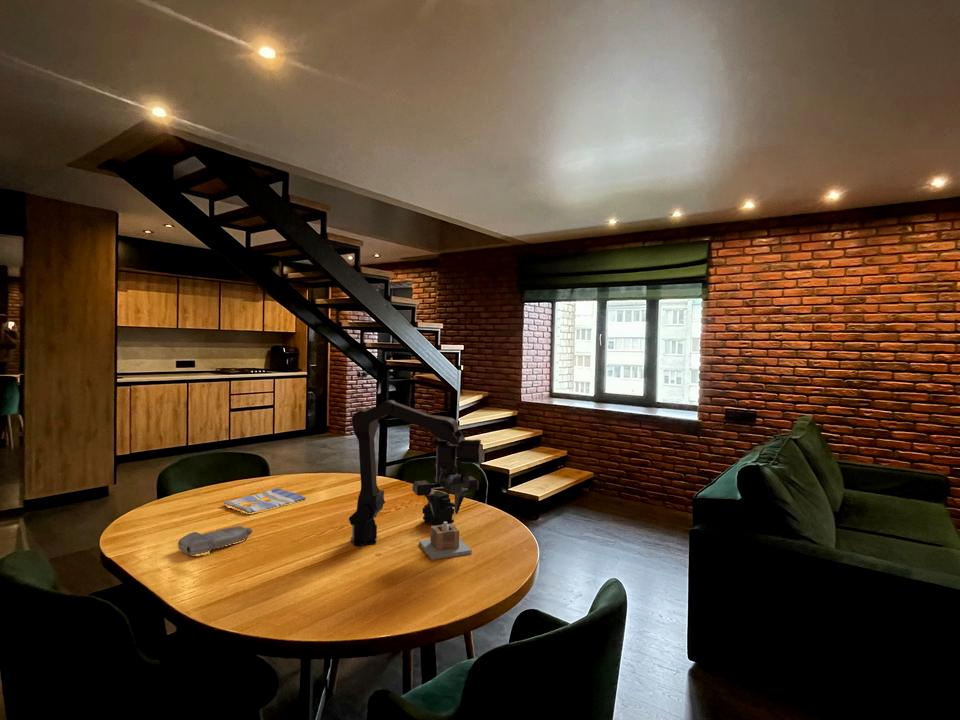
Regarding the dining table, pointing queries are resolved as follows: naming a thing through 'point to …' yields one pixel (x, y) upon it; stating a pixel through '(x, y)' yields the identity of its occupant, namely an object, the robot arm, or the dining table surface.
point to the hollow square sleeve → (444, 537)
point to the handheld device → (212, 539)
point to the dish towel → (275, 495)
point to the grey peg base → (436, 554)
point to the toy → (439, 510)
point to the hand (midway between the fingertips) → (445, 514)
